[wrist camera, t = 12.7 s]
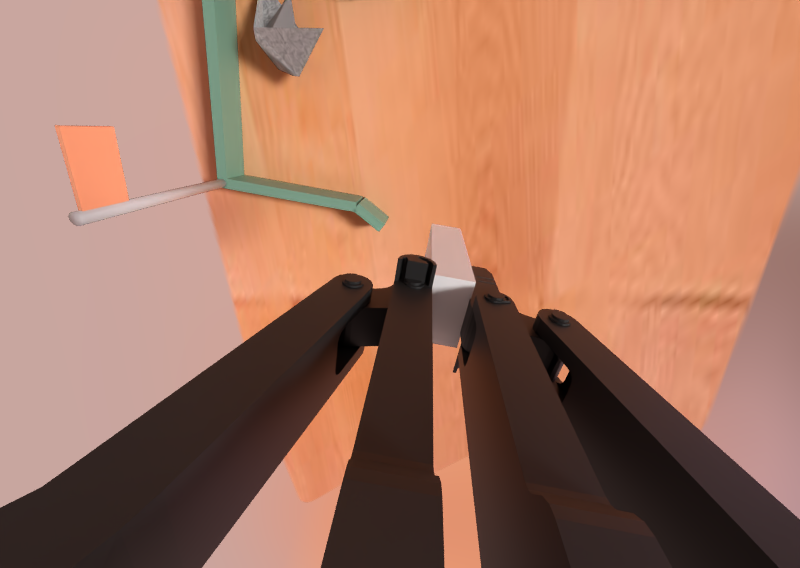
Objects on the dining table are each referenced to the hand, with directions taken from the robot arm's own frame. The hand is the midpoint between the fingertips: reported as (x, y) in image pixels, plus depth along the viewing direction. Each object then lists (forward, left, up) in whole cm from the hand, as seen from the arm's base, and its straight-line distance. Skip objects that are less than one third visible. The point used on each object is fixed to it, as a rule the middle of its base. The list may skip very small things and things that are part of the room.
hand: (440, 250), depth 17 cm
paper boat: (+18, -13, -27) cm, 35 cm away
